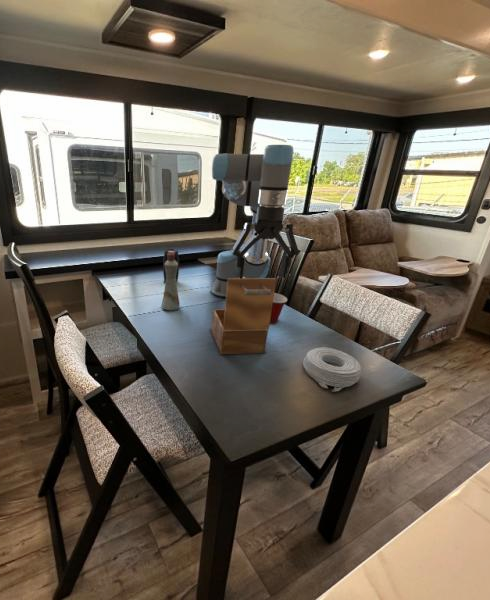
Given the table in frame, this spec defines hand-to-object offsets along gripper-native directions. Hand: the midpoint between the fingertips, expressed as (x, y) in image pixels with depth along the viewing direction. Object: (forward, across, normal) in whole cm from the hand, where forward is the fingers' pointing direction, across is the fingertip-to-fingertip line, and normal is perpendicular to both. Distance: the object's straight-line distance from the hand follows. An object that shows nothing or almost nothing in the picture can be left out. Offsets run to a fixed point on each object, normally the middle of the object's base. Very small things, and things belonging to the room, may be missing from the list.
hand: (261, 277), depth 96 cm
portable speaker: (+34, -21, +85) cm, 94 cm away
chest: (+33, 0, +16) cm, 37 cm away
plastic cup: (+33, +21, +33) cm, 51 cm away
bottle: (+33, -24, +49) cm, 64 cm away
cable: (+33, +26, -7) cm, 42 cm away
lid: (+13, 0, +8) cm, 15 cm away
